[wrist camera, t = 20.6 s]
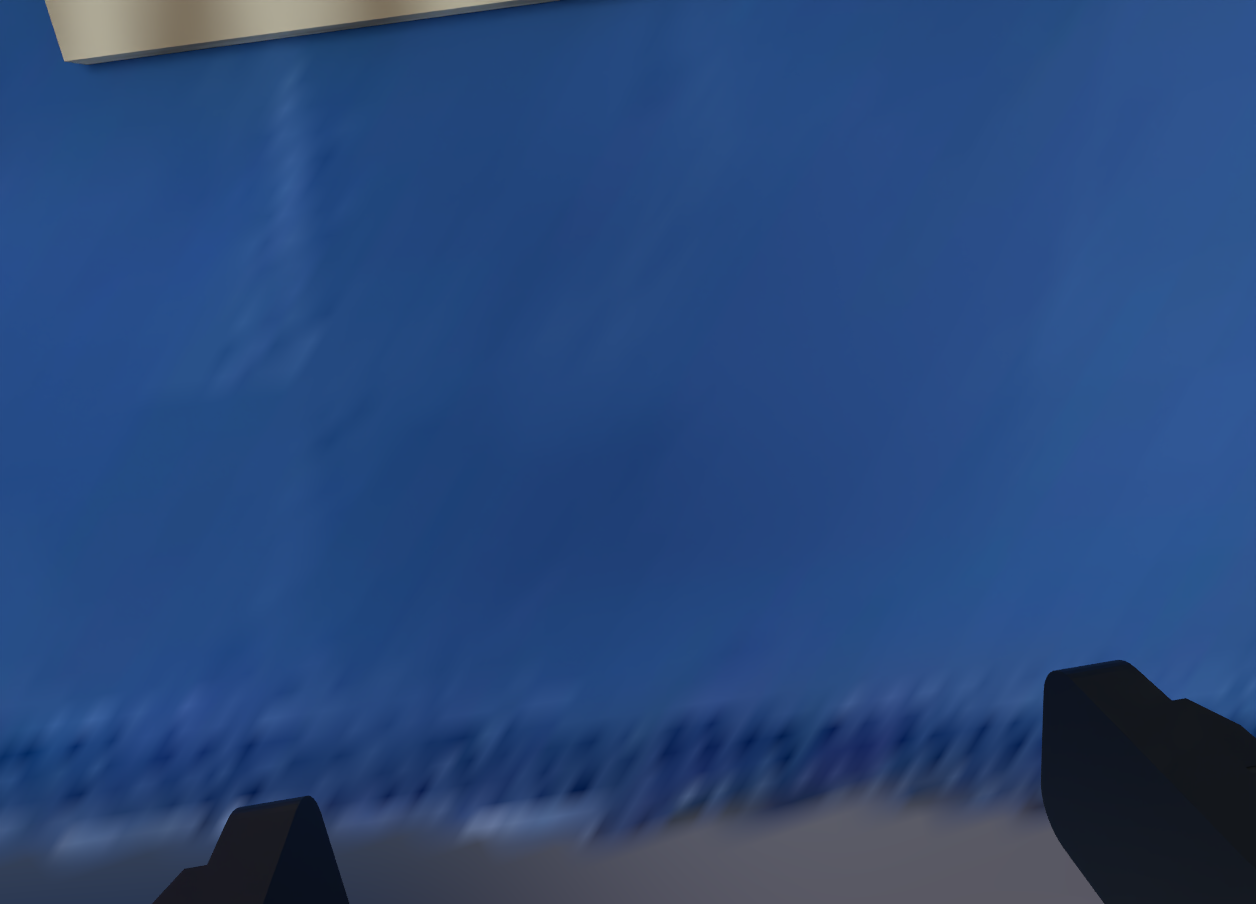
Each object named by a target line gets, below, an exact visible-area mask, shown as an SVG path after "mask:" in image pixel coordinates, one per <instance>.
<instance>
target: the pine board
mask: <svg viewBox="0 0 1256 904" xmlns="http://www.w3.org/2000/svg"><path fill="white" fill-rule="evenodd" d="M551 1H558V0H45V2H46V5H47V9H48V12H49V15H50V18H51V21H52V24H53V27H54V30H55V34H56V37H57V40H58V43H59V46H60V49H61V52H62V55H63V58H64V61H65V62H72V63H79V64H86V65H88V64H95V63H103V62H110V61H117V60H125V59H132V58H139V57H147V56H154V55H161V54H169V53H176V52H183V51H191V50H198V49H206V48H213V47H220V46H228V45H235V44H242V43H250V42H257V41H264V40H272V39H279V38H286V37H294V36H301V35H308V34H316V33H323V32H331V31H338V30H345V29H353V28H360V27H367V26H375V25H382V24H389V23H397V22H404V21H411V20H419V19H426V18H433V17H441V16H448V15H456V14H463V13H470V12H478V11H485V10H492V9H500V8H507V7H514V6H522V5H529V4H536V3H544V2H551Z"/></svg>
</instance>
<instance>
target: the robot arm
mask: <svg viewBox="0 0 1256 904" xmlns="http://www.w3.org/2000/svg"><path fill="white" fill-rule="evenodd" d="M1041 790H1042V797H1043V802H1044V806H1045V810H1046V813H1047V816H1048V819H1049V821H1050V824H1051V826H1052V829H1053V831H1054V833H1055V835H1056V837H1057V838H1058V840H1059V842H1060V843H1061V845H1062V846H1063V848H1064V849H1065V851H1066V852H1067V853H1068V854H1069V856H1070V857H1071V859H1072V860H1073V862H1074V863H1075V864H1076V866H1077V867H1078V868H1079V870H1080V871H1081V872H1082V874H1083V875H1084V877H1085V878H1086V879H1087V881H1088V882H1089V883H1090V885H1091V886H1092V887H1093V889H1094V890H1095V892H1096V893H1097V894H1098V896H1099V897H1100V898H1101V900H1102V901H1103V903H1104V904H1256V738H1255V737H1254V736H1252V735H1251V734H1250V733H1249V732H1248V731H1247V730H1245V729H1244V728H1243V727H1242V726H1241V725H1239V724H1237V723H1235V722H1233V721H1231V720H1229V719H1227V718H1225V717H1223V716H1221V715H1219V714H1217V713H1215V712H1213V711H1211V710H1209V709H1207V708H1205V707H1203V706H1201V705H1199V704H1197V703H1195V702H1192V701H1190V700H1188V699H1186V698H1185V699H1179V700H1173V701H1172V700H1171V699H1169V698H1168V697H1167V696H1166V695H1165V694H1164V693H1163V692H1162V691H1161V690H1159V689H1158V688H1157V687H1156V686H1155V685H1154V684H1153V683H1152V682H1151V681H1149V680H1148V679H1147V678H1146V677H1145V676H1144V675H1143V674H1142V673H1141V672H1139V671H1138V670H1137V669H1136V668H1135V667H1134V666H1132V665H1131V664H1130V663H1128V662H1126V661H1122V660H1115V661H1109V662H1103V663H1097V664H1091V665H1085V666H1079V667H1073V668H1068V669H1062V670H1056V671H1052V672H1050V673H1049V675H1048V676H1047V678H1046V680H1045V685H1044V700H1043V732H1042V764H1041ZM153 904H349V902H348V898H347V895H346V892H345V888H344V885H343V882H342V879H341V876H340V872H339V870H338V866H337V863H336V860H335V856H334V853H333V850H332V847H331V844H330V840H329V837H328V834H327V831H326V828H325V824H324V821H323V818H322V815H321V812H320V809H319V807H318V805H317V803H316V801H315V800H314V799H313V798H312V797H311V796H303V797H298V798H292V799H286V800H280V801H274V802H268V803H262V804H257V805H251V806H245V807H240V808H237V809H235V810H234V811H233V812H232V814H231V815H230V817H229V818H228V820H227V822H226V825H225V827H224V829H223V831H222V833H221V836H220V838H219V840H218V842H217V844H216V847H215V849H214V851H213V853H212V855H211V858H210V860H209V862H208V864H207V865H204V866H198V867H193V868H187V869H184V870H183V871H182V872H181V873H180V874H179V875H178V876H177V877H176V878H175V880H174V881H173V882H172V883H171V884H170V885H169V886H168V887H167V888H166V889H165V890H164V891H163V893H162V894H161V895H160V896H159V897H158V898H157V899H156V900H155V901H154V902H153Z"/></svg>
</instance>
